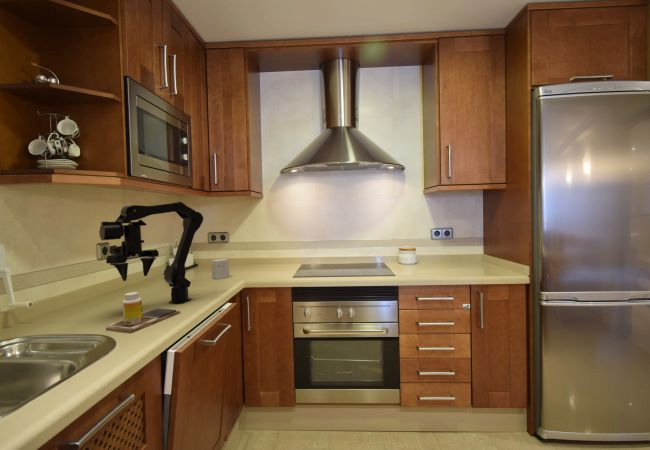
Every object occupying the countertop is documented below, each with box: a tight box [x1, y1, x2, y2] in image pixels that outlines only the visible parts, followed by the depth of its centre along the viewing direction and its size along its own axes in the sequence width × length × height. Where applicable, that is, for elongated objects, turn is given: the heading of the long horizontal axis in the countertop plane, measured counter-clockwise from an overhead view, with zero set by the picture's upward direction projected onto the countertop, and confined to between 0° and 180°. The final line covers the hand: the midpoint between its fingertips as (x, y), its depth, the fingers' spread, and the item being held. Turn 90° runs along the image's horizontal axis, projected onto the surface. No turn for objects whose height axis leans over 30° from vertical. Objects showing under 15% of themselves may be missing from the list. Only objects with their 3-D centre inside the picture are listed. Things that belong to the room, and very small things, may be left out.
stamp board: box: [105, 308, 181, 334], centre depth 119 cm, size 21×11×1 cm, turn 160°
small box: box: [210, 258, 230, 280], centre depth 191 cm, size 8×6×10 cm
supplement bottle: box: [122, 291, 143, 326], centre depth 114 cm, size 6×6×10 cm
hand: (135, 278), depth 130 cm, fingers open, 9 cm apart
